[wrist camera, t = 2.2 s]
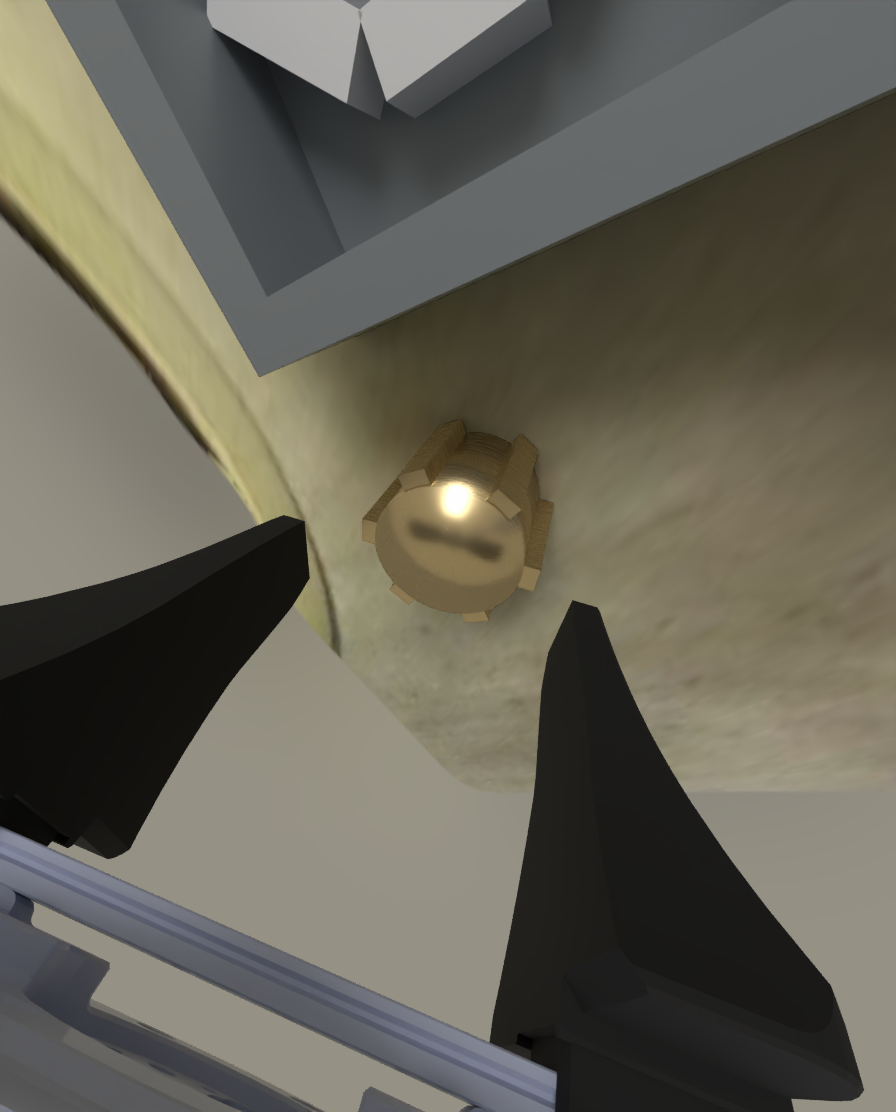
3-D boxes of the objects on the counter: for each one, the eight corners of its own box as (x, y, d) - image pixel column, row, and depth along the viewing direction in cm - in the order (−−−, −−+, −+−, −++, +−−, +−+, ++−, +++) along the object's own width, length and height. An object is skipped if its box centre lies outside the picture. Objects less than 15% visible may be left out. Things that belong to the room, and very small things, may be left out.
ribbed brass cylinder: (564, 541, 15) (555, 617, 12) (442, 560, 18) (408, 629, 15) (525, 398, 13) (501, 450, 10) (388, 440, 15) (333, 493, 12)
